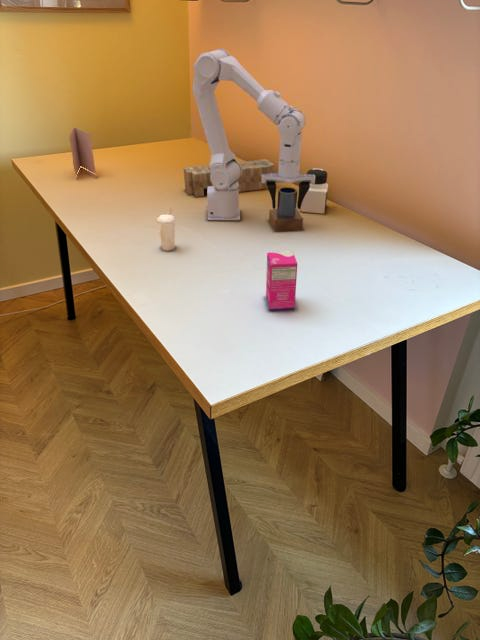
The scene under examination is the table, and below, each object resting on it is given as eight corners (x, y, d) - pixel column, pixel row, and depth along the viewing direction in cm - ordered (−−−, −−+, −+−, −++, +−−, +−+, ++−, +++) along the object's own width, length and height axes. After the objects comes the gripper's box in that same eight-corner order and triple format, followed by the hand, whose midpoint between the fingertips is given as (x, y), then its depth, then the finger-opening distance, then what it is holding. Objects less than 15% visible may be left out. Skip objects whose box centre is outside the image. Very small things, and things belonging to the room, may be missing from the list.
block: (274, 231, 146) (275, 220, 144) (268, 220, 152) (269, 209, 150) (302, 230, 147) (303, 218, 145) (295, 219, 154) (296, 208, 152)
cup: (277, 217, 145) (278, 193, 142) (276, 210, 150) (277, 186, 146) (296, 217, 146) (298, 193, 142) (294, 210, 150) (296, 187, 146)
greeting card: (78, 170, 189) (71, 127, 181) (99, 169, 190) (93, 127, 182) (73, 180, 180) (66, 135, 172) (95, 179, 181) (89, 135, 172)
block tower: (191, 200, 168) (274, 188, 175) (189, 174, 163) (275, 163, 171) (185, 192, 174) (266, 180, 182) (183, 167, 169) (266, 156, 177)
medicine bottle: (324, 214, 157) (328, 175, 151) (301, 212, 158) (304, 173, 152) (326, 205, 163) (330, 167, 156) (303, 203, 164) (306, 165, 158)
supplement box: (264, 297, 116) (266, 251, 110) (290, 296, 116) (294, 250, 110) (267, 311, 111) (270, 263, 105) (295, 310, 112) (299, 263, 105)
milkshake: (181, 244, 138) (179, 208, 133) (172, 253, 134) (170, 216, 128) (165, 242, 139) (163, 206, 134) (156, 250, 135) (153, 214, 130)
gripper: (263, 163, 136) (261, 212, 143) (318, 164, 136) (313, 213, 143) (262, 155, 142) (260, 203, 149) (314, 156, 142) (310, 203, 149)
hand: (286, 207), depth 147 cm, fingers open, 6 cm apart
